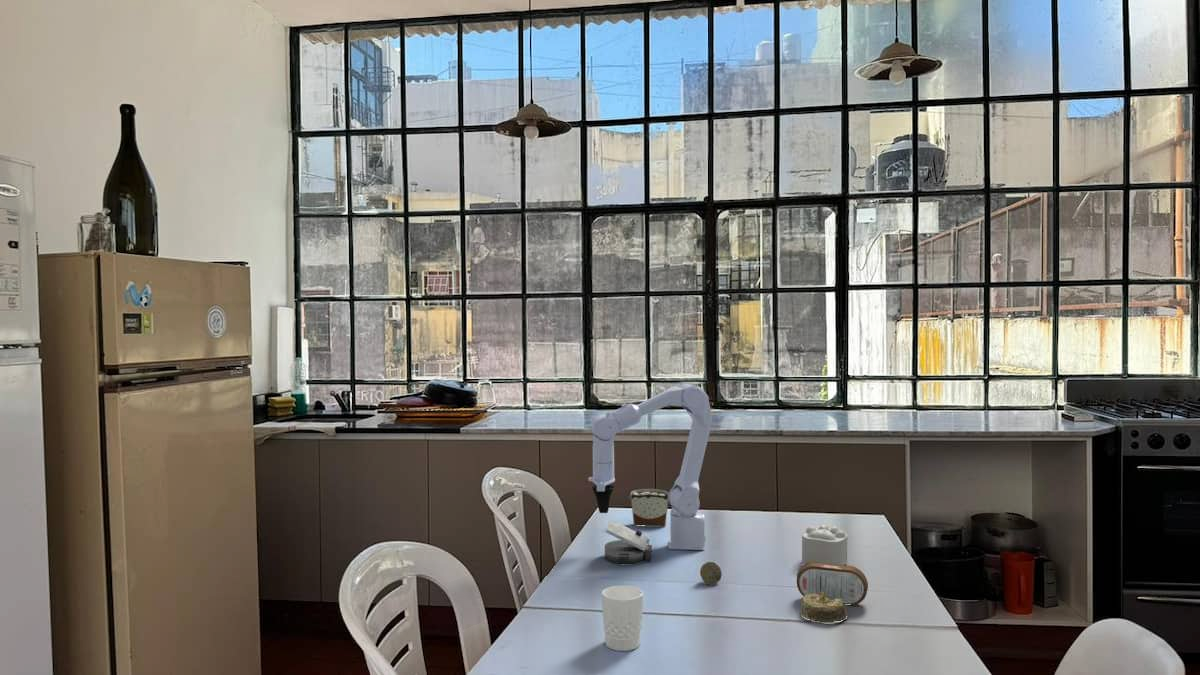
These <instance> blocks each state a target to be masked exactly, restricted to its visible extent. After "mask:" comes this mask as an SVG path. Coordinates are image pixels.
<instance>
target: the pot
mask: <svg viewBox="0 0 1200 675" xmlns="http://www.w3.org/2000/svg"><path fill="white" fill-rule="evenodd" d="M652 558H653V545H652V544H649V549H648V551H646V550H645V551H643V550H641V549H639V548H637V547H635V546H633V545H631V544H629V543H626V542H624V541H622V540H620V539H618V540H612V541H609V542H607V543H605V544H604V560H605V561H606V562H608V563H611V564H615V565H621V564H632V565H639V564H641V563H644V562H646V563H648V562H649V563H651V562H652ZM638 563H639V564H638Z"/></svg>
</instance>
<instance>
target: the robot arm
mask: <svg viewBox="0 0 1200 675" xmlns="http://www.w3.org/2000/svg"><path fill="white" fill-rule="evenodd" d="M709 400H710V398H709V395H708V394H707V392H705V390H704V389H703V388H702V387H701V386H697V385H694V384H690V383H688V382H682V383H680V384H678V385H675V386H671V387H669V388H667V389H666V390H664V391H662V392H660V393H658V394H656V395H653V396H652V397H650V398H648V399H647V400H644V401H642V402H640V403H639V404H637V405H636V404H633V403H623V404H620V405H621V407H619V408H617V409H615V410H612V411H606V412H605V415H599V416H597V417H595V418H594V419H593V421H592V422H591V425H590V427H589V428H590V431H591V433H592V437H593V438H592V476H589V477H588V478H587V479H588V480H587V481H589V482H592V483H594V485H593V486H592V492H593V493H594V496H595V498H596V501H597V509H598V512H599V514H608V512H609V508H610V503H611V497H612V494H613V491H614V489H615V486H616V485H615V484H614V482H615V481H616V478H615V443H614V442H615V441H614V440H615V439H614V438H615V436H616V435H617V433H620V432H623V431H625V430H627V429H628V428H631V427H633V426H635V425H637V424H639V423H640V422H641V419H642V417H644V416H646V415H647V414H650V413H653V412H655V411H658V410H660V409H662V408H665V407H668V406H675V407H682V408H683V409H684V410H686V412H687V413H688V416H689V417H690V418H691V420H692V422H691V425H690V430H689V435H688V439H687V442H686V447H685V450H684V456H683V459H682V464H681V468H680V472H679V475H678V477H677V478H676V479H675V481H674V484H673V486H672V487H671V489H670V490H669V492H668V493H669V495H668V504H670V505H671V509H670V512H669V513H670V516H669V517H670V518H669V519H670V527H669V528H670V533H669V534H670V537H669V538H670V539H669V540H668V549H669V550H686V551H688V550H689V551H690V550H691V551H704V550H705V542H706V534H705V514H704V513H698V510H699V508H700V506H701V504H700V497H699V495H700V484H699V479H700V478H699V477H700V474H701V469H702V466H703V462H704V458H705V452H706V449H707V446H708V445H707V444H708V441H709V438H710V432H711V428H712V423H713V418H714V415H713V411H712V409H711V405H710V401H709Z"/></svg>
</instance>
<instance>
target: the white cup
mask: <svg viewBox="0 0 1200 675" xmlns="http://www.w3.org/2000/svg"><path fill="white" fill-rule="evenodd" d="M601 596H602V597H601V598H602V599H601V601H602V618H603V622H602V623H603V632H604V643H605V646H606V647H607V648H608V649H611V650H613V651H617V652H628V651H633V650H635V649H638V648H639V647H640V645H641V636H642V635H641V632H642V631H641V630H642V628H643V627H642V624H643V622H642V621H643V605H644V603H643V602H644V591H643V590H642V589H640V588H638V587H635V586H632V585H614V586H610V587H606V588H604V589H603V590H602V591H601Z"/></svg>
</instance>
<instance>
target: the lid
mask: <svg viewBox="0 0 1200 675" xmlns="http://www.w3.org/2000/svg"><path fill="white" fill-rule="evenodd" d="M605 533H606V534H608V535H611V536H613V537H614V538H616V539H618V540H622V541H624V542H626V543H629V544H631V545H633V546H635V547H637V548H639V549H641V550H643V551H645V550H646V551H648V549H649V545H650V539H649V538H648V536H646V535H643V532H642V531H640V530H638V529H637V530H636V531H635V530H634V529H632V528H629V527H627V526H625V525H623V524H621V523H619V522H617V521H615V520H613V519H610V520H609V522H608V526H607V528H606V530H605Z"/></svg>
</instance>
